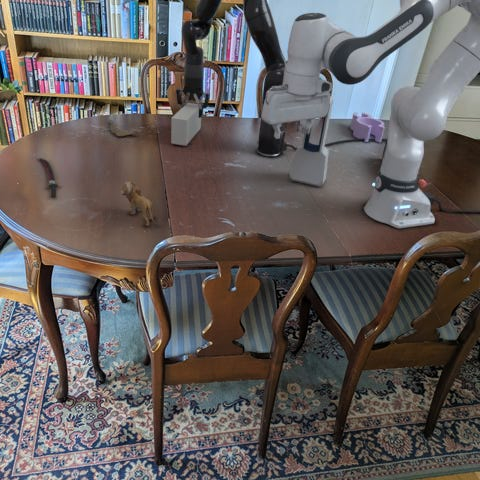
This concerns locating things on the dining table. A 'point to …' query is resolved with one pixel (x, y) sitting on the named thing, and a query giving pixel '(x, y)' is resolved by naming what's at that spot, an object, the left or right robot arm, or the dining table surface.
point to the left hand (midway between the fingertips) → (192, 115)
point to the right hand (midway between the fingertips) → (291, 135)
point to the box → (185, 124)
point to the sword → (52, 181)
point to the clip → (367, 127)
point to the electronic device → (312, 157)
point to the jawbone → (119, 132)
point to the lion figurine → (137, 201)
